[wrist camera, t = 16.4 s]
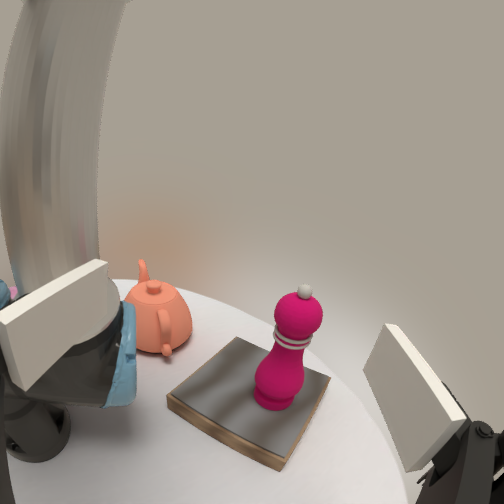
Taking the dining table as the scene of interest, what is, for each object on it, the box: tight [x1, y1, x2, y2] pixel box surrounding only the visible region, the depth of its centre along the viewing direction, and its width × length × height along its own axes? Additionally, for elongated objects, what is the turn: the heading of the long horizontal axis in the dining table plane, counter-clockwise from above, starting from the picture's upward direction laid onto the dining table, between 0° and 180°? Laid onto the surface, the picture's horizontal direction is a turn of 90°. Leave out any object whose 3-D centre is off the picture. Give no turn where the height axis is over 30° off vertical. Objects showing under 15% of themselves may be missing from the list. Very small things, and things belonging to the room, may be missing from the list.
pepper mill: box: [254, 284, 323, 411], centre depth 35 cm, size 7×7×20 cm
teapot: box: [124, 259, 192, 356], centre depth 53 cm, size 22×16×12 cm
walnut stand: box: [166, 337, 331, 472], centre depth 41 cm, size 20×20×4 cm
